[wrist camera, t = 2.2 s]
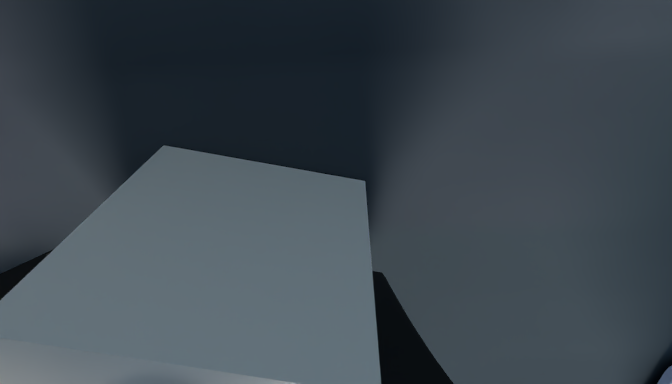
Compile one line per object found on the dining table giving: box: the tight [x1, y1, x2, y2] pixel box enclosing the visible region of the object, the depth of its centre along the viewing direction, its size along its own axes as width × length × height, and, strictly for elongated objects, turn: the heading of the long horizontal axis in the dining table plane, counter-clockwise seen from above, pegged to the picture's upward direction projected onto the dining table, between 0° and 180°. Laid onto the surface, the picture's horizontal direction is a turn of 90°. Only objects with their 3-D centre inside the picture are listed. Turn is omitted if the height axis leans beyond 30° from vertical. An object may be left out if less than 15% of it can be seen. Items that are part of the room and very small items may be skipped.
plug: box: [0, 145, 381, 384], centre depth 8 cm, size 4×4×7 cm
